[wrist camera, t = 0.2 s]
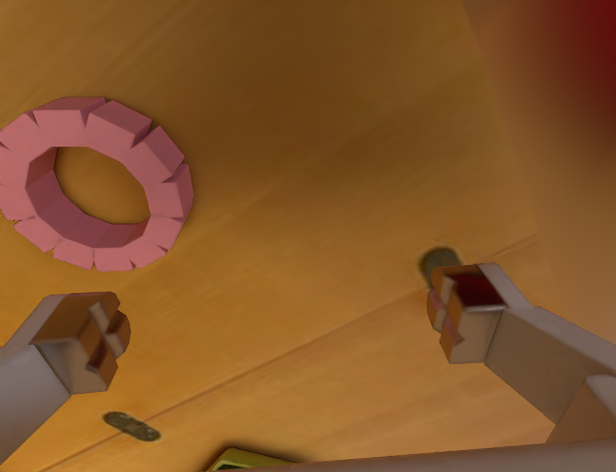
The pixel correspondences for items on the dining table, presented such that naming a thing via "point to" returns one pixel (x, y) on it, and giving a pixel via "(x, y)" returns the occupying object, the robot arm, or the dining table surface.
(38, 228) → the ring
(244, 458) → the flower pot
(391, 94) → the dining table surface
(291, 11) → the dining table surface
